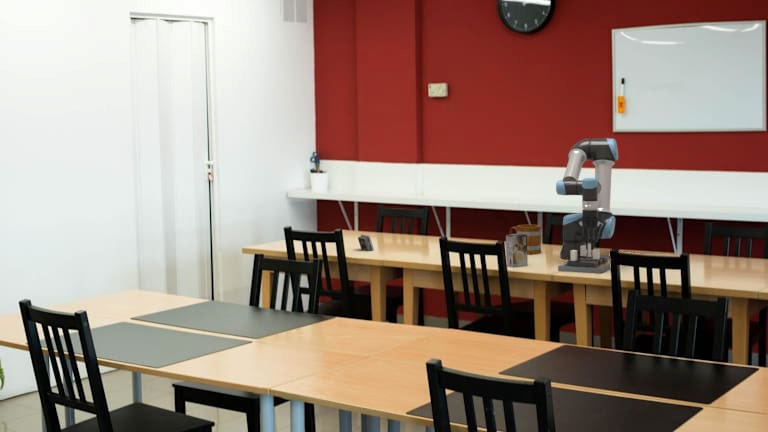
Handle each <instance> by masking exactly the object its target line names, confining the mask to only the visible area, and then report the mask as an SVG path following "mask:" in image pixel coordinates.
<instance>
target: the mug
mask: <svg viewBox="0 0 768 432" xmlns="http://www.w3.org/2000/svg"><path fill="white" fill-rule="evenodd" d="M513 230H515V232H516V234H518V233H521V234H527V256H533V255H541V254H542V249H541V248H542V245H541V244H542V236H541V235H542V233H541V230H542V225H540V224H529V223H527V224H518V225H516V226H511V227H510V228H509V234H514V233H513Z"/></svg>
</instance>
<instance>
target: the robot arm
mask: <svg viewBox="0 0 768 432" xmlns="http://www.w3.org/2000/svg"><path fill="white" fill-rule="evenodd" d="M618 150H619V148H618V144H617V141H616V139H614V138H607V137H603V138H585V139H582V140H579V141H578V142H576V143H575V144H574V145H573V146H572V147H571V148H570V150H569V153H568V156H567V157H568V162H567V165H566V168H565V171H564V174H563V178H562V179H560V180H557V181H556V183H555V192H556V194H557V195H558V196H581V197H582V199H581V200H582V201H581V202H582V203H581V204H582V205H581V206H582V212H579V213H572V214H566V215H564V217H563V220H562V239H563V242H562V246H561V248H560V249H561V250H560V253H559V257H560V258H561V259H565V260H571V250H577V257H578V256H580V246H582V245H586V250H587V255H588V257H591V256H593V249H595V243H597V242H598V243H599V239H601V240H603V239H604V240H605V239H611V238H612V237H613V235H614V232H615V228H616V227H615V226H616V217H615V216H614V215H613V212H612V211H611V190H612V188H611V187H612V168H613V166H614V165H615V164H616V161H618V160H619V151H618ZM586 161H592V164H593V165H594V166H595V168H594V177H584V178H582V180H579V178H580V174H581V171H582V168H583V164H584V163H585V162H586Z"/></svg>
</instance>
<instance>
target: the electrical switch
mask: <svg viewBox="0 0 768 432" xmlns="http://www.w3.org/2000/svg"><path fill="white" fill-rule="evenodd" d="M357 240H358V243H359V246H360V247H359V248H360V249H361V251H366V252H369V251H371V252H372V251H374V250H375V249H374V246H373V245H374V244H373V242H372V241H373V240H372V239H371V236H370V234H369V235H368V234H364V233H361V234H360V236H358V237H357Z"/></svg>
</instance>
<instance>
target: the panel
mask: <svg viewBox="0 0 768 432" xmlns="http://www.w3.org/2000/svg"><path fill="white" fill-rule="evenodd" d="M608 257H609V256H607V255H605V256H603V255H600V259H593V255H592V256H591V257H588V255H587V256H578V257H577V261H571V259H568V260H567V261H566V262H564V263H561V264H560V265H558V266H557V270H558V272H566V271H567V272H569V273H572V272H573V273H587V274H604V273H605V272H607V271H609V270H610V260H611V259H608Z"/></svg>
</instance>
